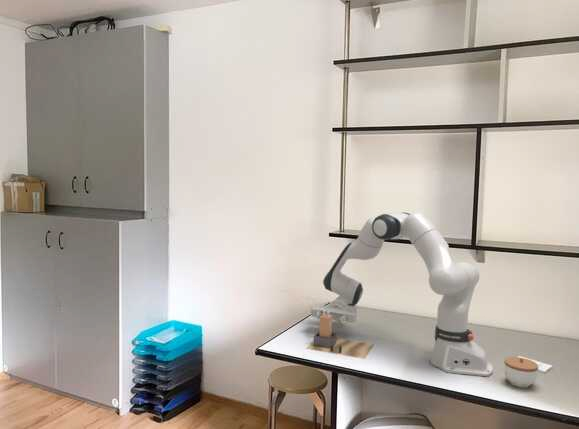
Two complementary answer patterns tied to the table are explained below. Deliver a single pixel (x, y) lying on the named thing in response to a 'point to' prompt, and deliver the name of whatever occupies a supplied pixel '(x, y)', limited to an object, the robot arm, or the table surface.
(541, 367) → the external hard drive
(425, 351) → the table surface
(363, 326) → the table surface
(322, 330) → the tan tall block
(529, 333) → the table surface
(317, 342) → the end holder
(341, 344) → the cable board
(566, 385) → the table surface
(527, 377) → the lidded jar
